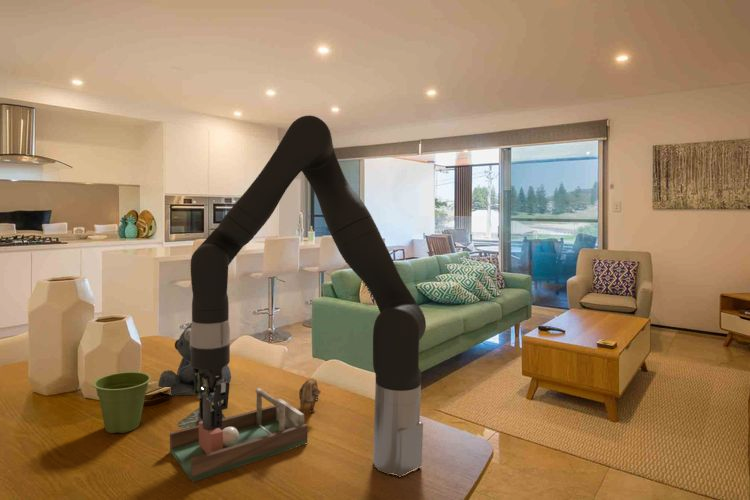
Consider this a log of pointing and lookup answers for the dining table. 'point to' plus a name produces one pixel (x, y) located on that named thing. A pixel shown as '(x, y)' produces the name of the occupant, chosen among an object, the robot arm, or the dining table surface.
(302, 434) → the pitch
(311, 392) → the lion figurine
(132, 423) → the plant pot
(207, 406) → the striker
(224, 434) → the ball
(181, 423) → the eiffel tower figurine
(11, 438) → the dining table surface
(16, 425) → the dining table surface
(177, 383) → the koala plush
